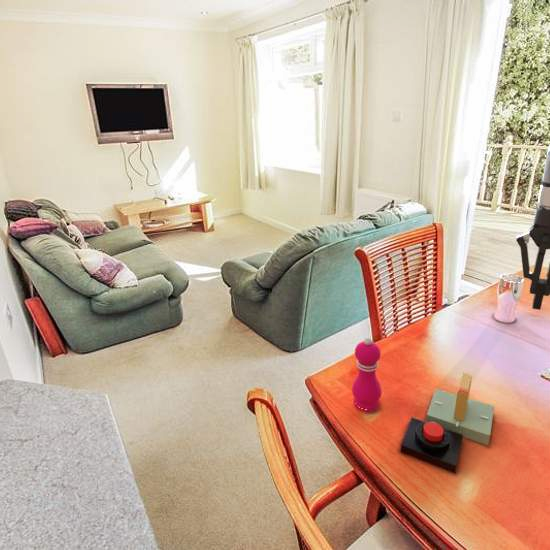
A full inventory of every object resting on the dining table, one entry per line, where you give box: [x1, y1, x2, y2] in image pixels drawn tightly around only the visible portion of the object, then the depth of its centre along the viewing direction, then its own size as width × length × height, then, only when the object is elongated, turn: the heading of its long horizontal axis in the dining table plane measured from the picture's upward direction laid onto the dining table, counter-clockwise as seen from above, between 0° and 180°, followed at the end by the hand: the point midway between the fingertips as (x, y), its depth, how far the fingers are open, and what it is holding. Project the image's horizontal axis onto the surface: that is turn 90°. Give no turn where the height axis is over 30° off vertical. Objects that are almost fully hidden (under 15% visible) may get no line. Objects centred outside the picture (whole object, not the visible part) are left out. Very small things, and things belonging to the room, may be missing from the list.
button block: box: [400, 417, 464, 474], centre depth 82 cm, size 11×9×4 cm
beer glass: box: [493, 273, 525, 324], centre depth 123 cm, size 7×7×15 cm
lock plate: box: [425, 388, 495, 446], centre depth 88 cm, size 13×11×3 cm
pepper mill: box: [351, 336, 383, 413], centre depth 92 cm, size 7×7×20 cm
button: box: [423, 422, 444, 442], centre depth 81 cm, size 4×4×2 cm
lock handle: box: [454, 372, 473, 421], centre depth 86 cm, size 7×2×8 cm, turn 147°
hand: (536, 306), depth 86 cm, fingers closed
